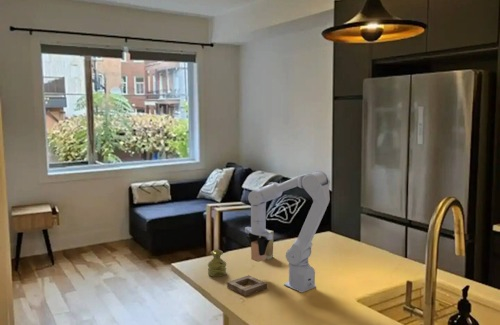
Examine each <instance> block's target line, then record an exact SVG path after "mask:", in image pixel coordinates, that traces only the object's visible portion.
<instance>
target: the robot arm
mask: <svg viewBox="0 0 500 325" xmlns="http://www.w3.org/2000/svg"><path fill="white" fill-rule="evenodd" d="M330 184H331V183H330V179H329V177H328V175H327V174H326V173H325V172H324V171H322V170H317V171H315V172H309V173H305V174H301V175H300V174H299V175H297V176H294V177H293V178H290V179H288V180H286V181H283V182H281V183H278V182H273V181H271V182H268V184H267V185H264V186H259V187H258V189H254V190H251V191H250V192H249V193H248V196H247V200H248V202H249V204H250V226H246V227H244V232H245V233H248V234H246V236H245V237H246V238H247V241H248V243H249V245H250V247H251V242H254V241H257V242H258V245H259V254H260V255H261V256H262V255H265V251H266V248H267V245H268V243H269V241H270V240H271V239H273V240H274V236H273V234H271V233H269V232H268V231H267V230H268V228H266V226H267V225H266V224H267V223H266V222H267V221H266V220H267V219H266V216H267V215H266V212H267V211H266V210H267V209H266V207H267V202H269V201H273V200H274V199H277V198H280V197H281V196H282V195H283V192H285V191H288V190H290V189H294V188H297V187H298V188H300V189H304V191H305V192H306V193H307V194H308V195H309V196H310V197H311V198H312V204H311V207H310V209H309V210H308V213H307V216H306V218H305V221H304V222H303V225H302V227H301V230H300V232H299V234H298V236H297V238H296V240H295V241H294V242H293V243H292V245H291V246H290V248H289V249H287V251H286V252H285V258H286V260H287V262H288V281H287V282H285V283H283V286H284V287H285V286H286V287H288V288H291V289H293V290H295V291H298V292H300V293H304V292H307V291H309V290H312V289H315V288H316V287H317V285H316V280H315V279H316V271H315V268H314V267H313V266H311V265H310V262H309V258H310V257H311V256H312V255H311V254H312V246H313V245H314V244H313V239H314V237H315V235H316V232H317V230H318V228H319V226H320V224H321V221H322V219H323V217H324V215H325V212H326V211H327V207H328V206H329V203H330V200H331V199H330ZM259 236H260V237H261V238H259Z"/></svg>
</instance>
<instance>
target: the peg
mask: <svg viewBox="0 0 500 325" xmlns="http://www.w3.org/2000/svg"><path fill="white" fill-rule="evenodd" d="M250 249H251V250H250V254H251V255H250V256H251V257H250V259H251V260H252V261H255V262H257V263H259V262H263V261H265V260H267V259H266V251H265V255H262V256H261V255H260V254H259V245H258V242H257V241H254V242H251V246H250Z"/></svg>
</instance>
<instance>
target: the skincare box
mask: <svg viewBox="0 0 500 325" xmlns="http://www.w3.org/2000/svg"><path fill="white" fill-rule="evenodd" d="M267 231H268V232H269V233H271V234H273V237H274V234H275V232H274V230H270V229H267ZM259 238H261V237H260V236H259ZM273 257H274V238H273V239H271V240H270V241H269V243H268V245H267V248H266V260H271V259H272V258H273Z"/></svg>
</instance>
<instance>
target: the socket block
mask: <svg viewBox="0 0 500 325" xmlns="http://www.w3.org/2000/svg"><path fill="white" fill-rule="evenodd" d="M246 284H249V285H250V286H246V287H245V286H243V285H246ZM226 286H227V288H228V289H230V290H232V291H234V292H236V293H237V294H240V295H242V296H244V297H247V296H250V295H253V294H256V293H258V292H261V291H264V290H267V289H268V283H267V282H265V281H263V280H261V279H258V278H255V277H254V276H251V275H249V274H248V275H245V276H242V277H238V278H235V279H233V280H229V281H227V282H226Z"/></svg>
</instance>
